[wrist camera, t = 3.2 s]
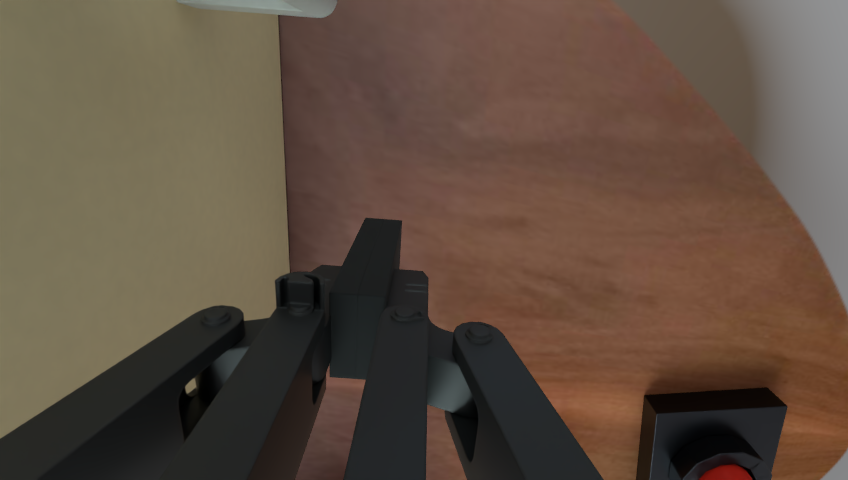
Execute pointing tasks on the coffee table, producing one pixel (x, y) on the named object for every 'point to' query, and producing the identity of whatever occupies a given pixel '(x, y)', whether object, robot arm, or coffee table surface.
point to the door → (133, 179)
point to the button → (726, 473)
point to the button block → (709, 433)
